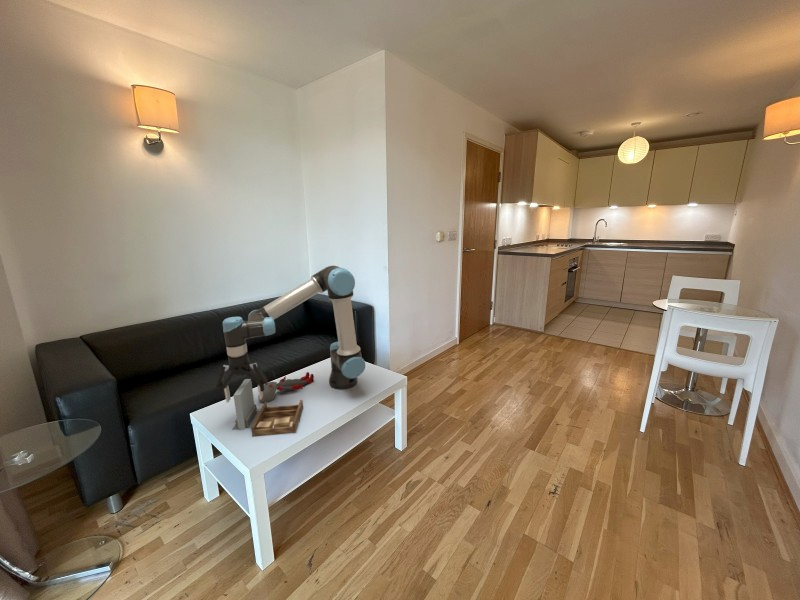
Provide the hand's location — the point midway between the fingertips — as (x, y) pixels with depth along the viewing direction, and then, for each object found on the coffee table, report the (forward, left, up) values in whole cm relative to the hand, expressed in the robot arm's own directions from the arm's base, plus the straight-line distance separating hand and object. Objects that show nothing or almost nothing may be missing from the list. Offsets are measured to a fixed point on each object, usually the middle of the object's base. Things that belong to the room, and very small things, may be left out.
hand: (245, 399), depth 141 cm
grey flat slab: (0, 0, -10) cm, 10 cm away
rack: (-14, +3, -11) cm, 18 cm away
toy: (-12, -25, -11) cm, 29 cm away
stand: (0, 0, -11) cm, 11 cm away
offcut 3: (-17, +10, -10) cm, 22 cm away
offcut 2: (-17, +9, -8) cm, 21 cm away
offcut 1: (-10, +9, -10) cm, 17 cm away
